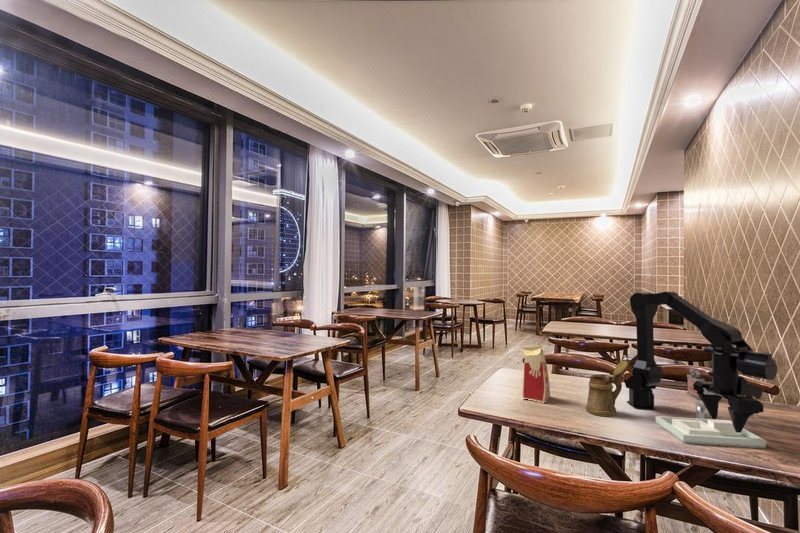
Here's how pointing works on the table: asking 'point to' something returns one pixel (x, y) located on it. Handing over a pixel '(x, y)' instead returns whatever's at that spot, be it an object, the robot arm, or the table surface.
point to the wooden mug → (605, 392)
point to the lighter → (691, 380)
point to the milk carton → (535, 375)
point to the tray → (737, 441)
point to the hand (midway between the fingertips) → (725, 425)
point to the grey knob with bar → (700, 410)
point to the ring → (705, 427)
